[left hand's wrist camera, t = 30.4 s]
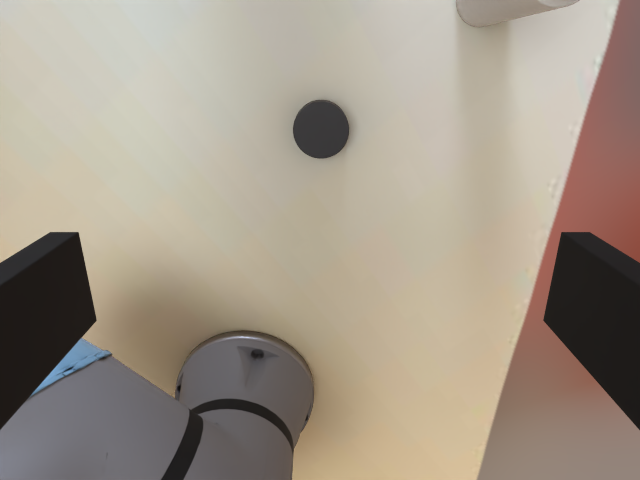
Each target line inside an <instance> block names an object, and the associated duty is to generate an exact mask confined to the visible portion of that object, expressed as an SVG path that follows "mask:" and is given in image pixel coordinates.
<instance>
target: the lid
mask: <svg viewBox="0 0 640 480" xmlns="http://www.w3.org/2000/svg"><path fill="white" fill-rule="evenodd" d="M293 134H294V138H295V141H296V143H297V145H298V147H299V148H300V149H301V150H302V151H303V152H304V153H305V154H307V155H309V156H311V157H314V158H328V157H331V156H333V155H335V154H337V153H338V152H339V151H340V150H341V149H342V148H343V147H344V145H345V144H346V142H347V139H348V135H349V125H348V121H347V118H346V116H345V114H344V112H343V111H342V110H341V109H340V108H339V107H338V106H337V105H336V104H334V103H332V102H330V101H327V100H315V101H312V102H310V103H308V104H306V105H305V106H304V107H303V108H302V109H301V110H300V111H299V113H298V115H297V116H296V119H295V121H294V126H293Z"/></svg>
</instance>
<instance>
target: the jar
mask: <svg viewBox="0 0 640 480" xmlns="http://www.w3.org/2000/svg"><path fill="white" fill-rule="evenodd" d="M578 1H579V0H456V5H457V10H458V13H459V15H460V17H461V18H462V19H463V20H464V21H465V22H466V23H467V24H469V25H471V26H475V27H484V26H488V25H492V24H496V23H500V22H504V21H508V20H513V19H517V18H521V17H525V16H529V15H533V14H537V13H541V12H545V11H550V10H554V9H558V8H562V7H566V6H569V5H572V4H574V3H576V2H578Z"/></svg>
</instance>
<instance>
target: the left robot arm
mask: <svg viewBox="0 0 640 480" xmlns="http://www.w3.org/2000/svg"><path fill="white" fill-rule="evenodd" d="M96 321H97V320H96V315H95V310H94V305H93V300H92V295H91V291H90V286H89V281H88V276H87V271H86V266H85V262H84V257H83V252H82V247H81V242H80V237H79V232H50V233H48V234H47V235H45V236H43V237H42V238H40V239H39V240H37V241H35V242H34V243H32V244H30V245H29V246H27V247H26V248H24V249H22V250H21V251H19V252H17V253H16V254H14V255H13V256H11V257H9V258H8V259H6V260H4V261H3V262H1V263H0V480H292V469H293V452H294V448H295V446H296V444H297V441H298V439H299V436H300V433H301V432H302V430H303V429H304V427H305V425H306V424H307V422H308V419H309V417H310V414H311V411H312V407H313V399H314V384H313V378H312V375H311V372H310V370H309V367H308V366H307V364H306V362H305V361H304V359H303V358H302V357H301V356H300V355H299V353H298V352H297V351H295V350H294V349H293V348H292V347H291V346H289V345H288V344H286V343H285V342H283V341H281V340H279V339H277V338H275V337H272V336H270V335H267V334H263V333H258V332H252V331H234V332H227V333H223V334H220V335H217V336H214V337H212V338H209V339H208V340H206V341H204V342H203V343H201V344H200V345H198V346H197V347H196V348H195V349H194V350H193V351H192V352H191V353H190V355H189V356H188V357H187V359H186V361H185V362H184V364H183V367H182V369H181V371H180V373H179V376H178V379H177V384H176V391H175V398H173V397H172V396H170V395H169V394H167V393H166V392H164V391H163V390H161V389H160V388H158V387H157V386H155V385H154V384H152V383H151V382H149V381H148V380H146V379H145V378H143V377H142V376H140V375H139V374H137V373H136V372H134V371H133V370H131V369H130V368H128V367H127V366H125V365H124V364H122V363H121V362H119V361H118V360H117V359H115V358H114V357H112V353H111V352H109V351H107V350H104V351H103V350H101V349H100V348H98V347H96V346H94V345H93V344H91V343H89V342H88V341H86V340H84V339H82V336H83V335H84V334H85V333H86V332H87V331H88V330H89V329H90V327H91V326H92V325H93V324H94V323H95V322H96ZM544 322H545V323H546V324H547V325H548V326H549V327H550V329H551V330H552V331H553V332H554V333H555V334H556V335H557V336H558V338H559V339H560V340H561V341H562V342H563V343H564V344H565V346H566V347H567V348H568V349H569V350H570V351H571V352H572V354H573V355H574V356H575V357H576V358H577V359H578V360H579V361H580V363H581V364H582V365H583V366H584V367H585V368H586V369H587V371H588V372H589V373H590V374H591V375H592V376H593V377H594V379H595V380H596V381H597V382H598V383H599V384H600V385H601V386H602V388H603V389H604V390H605V391H606V392H607V393H608V394H609V396H610V397H611V398H612V399H613V400H614V401H615V402H616V404H617V405H618V406H619V407H620V408H621V409H622V410H623V411H624V413H625V414H626V415H627V416H628V417H629V418H630V419H631V421H632V422H633V423H634V424H635V425H636V426H637V427H638V429H639V430H640V263H639V262H637V261H636V260H634V259H632V258H631V257H629V256H627V255H626V254H624V253H623V252H621V251H619V250H618V249H616V248H614V247H613V246H611V245H610V244H608V243H606V242H605V241H603V240H601V239H600V238H598V237H597V236H595V235H593V234H592V233H590V232H562V233H561V237H560V242H559V247H558V252H557V257H556V262H555V266H554V271H553V276H552V281H551V286H550V291H549V296H548V300H547V305H546V310H545V315H544Z"/></svg>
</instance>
